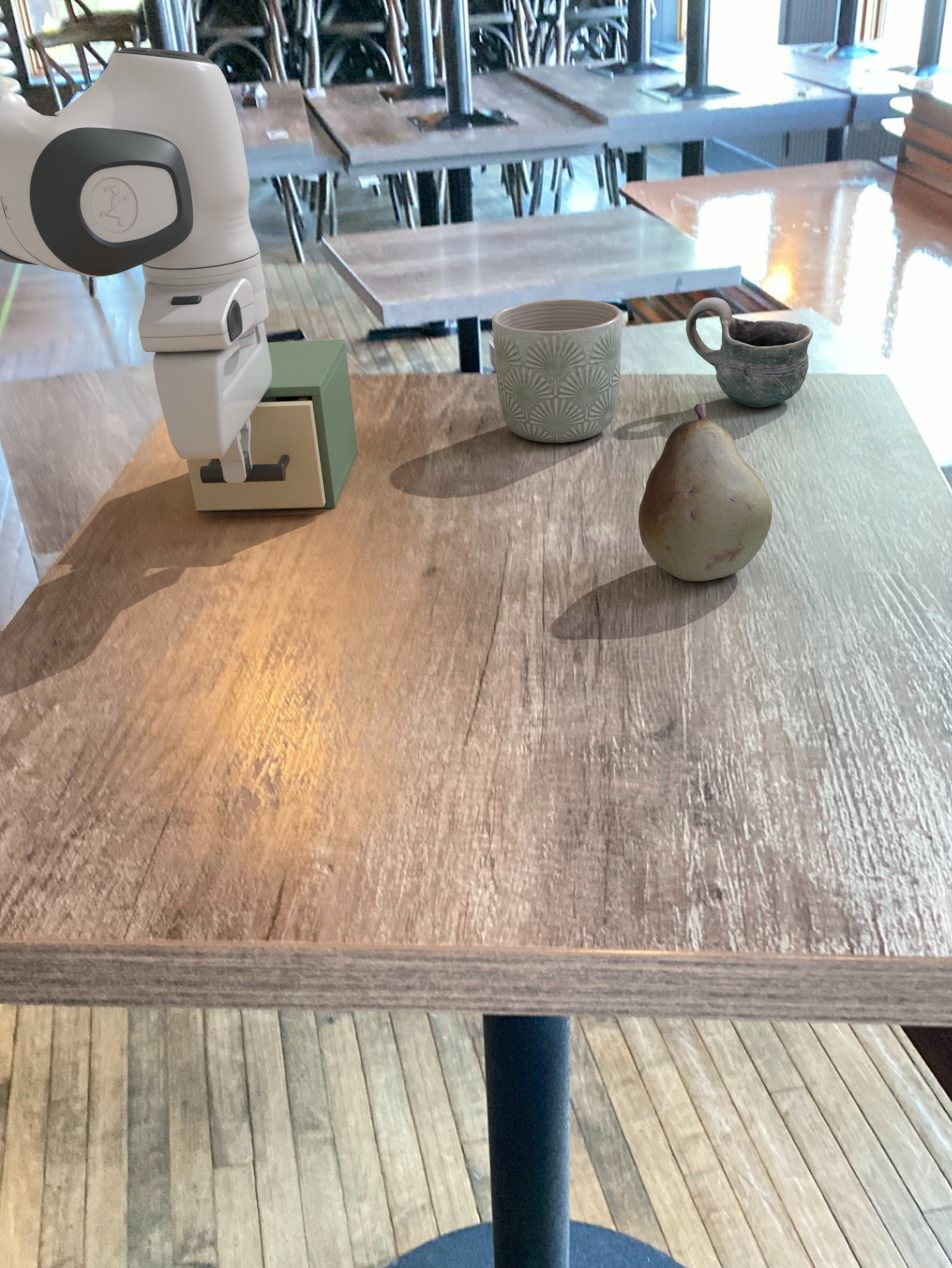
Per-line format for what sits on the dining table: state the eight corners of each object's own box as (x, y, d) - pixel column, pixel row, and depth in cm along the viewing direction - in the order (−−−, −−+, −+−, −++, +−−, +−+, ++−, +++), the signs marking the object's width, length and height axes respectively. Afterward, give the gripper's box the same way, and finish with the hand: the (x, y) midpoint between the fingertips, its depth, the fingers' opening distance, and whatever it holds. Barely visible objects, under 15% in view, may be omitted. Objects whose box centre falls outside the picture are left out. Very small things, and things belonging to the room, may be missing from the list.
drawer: (315, 525, 113) (301, 420, 107) (184, 529, 114) (163, 425, 108) (346, 455, 127) (334, 359, 121) (229, 458, 128) (212, 363, 122)
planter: (642, 439, 129) (643, 320, 122) (522, 459, 126) (517, 338, 119) (593, 404, 138) (592, 292, 132) (481, 422, 135) (474, 309, 129)
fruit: (718, 536, 109) (725, 386, 102) (795, 573, 102) (809, 415, 95) (616, 567, 105) (616, 413, 98) (690, 608, 98) (696, 446, 91)
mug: (812, 415, 132) (821, 308, 126) (685, 419, 133) (689, 313, 127) (801, 387, 140) (810, 284, 134) (682, 390, 141) (685, 289, 135)
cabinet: (335, 508, 118) (319, 385, 112) (197, 512, 119) (173, 391, 113) (358, 452, 130) (344, 339, 123) (231, 456, 131) (212, 344, 124)
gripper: (199, 268, 109) (229, 436, 118) (130, 334, 93) (170, 524, 101) (275, 265, 109) (299, 434, 117) (218, 331, 93) (251, 522, 101)
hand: (239, 477), depth 109 cm, fingers closed
